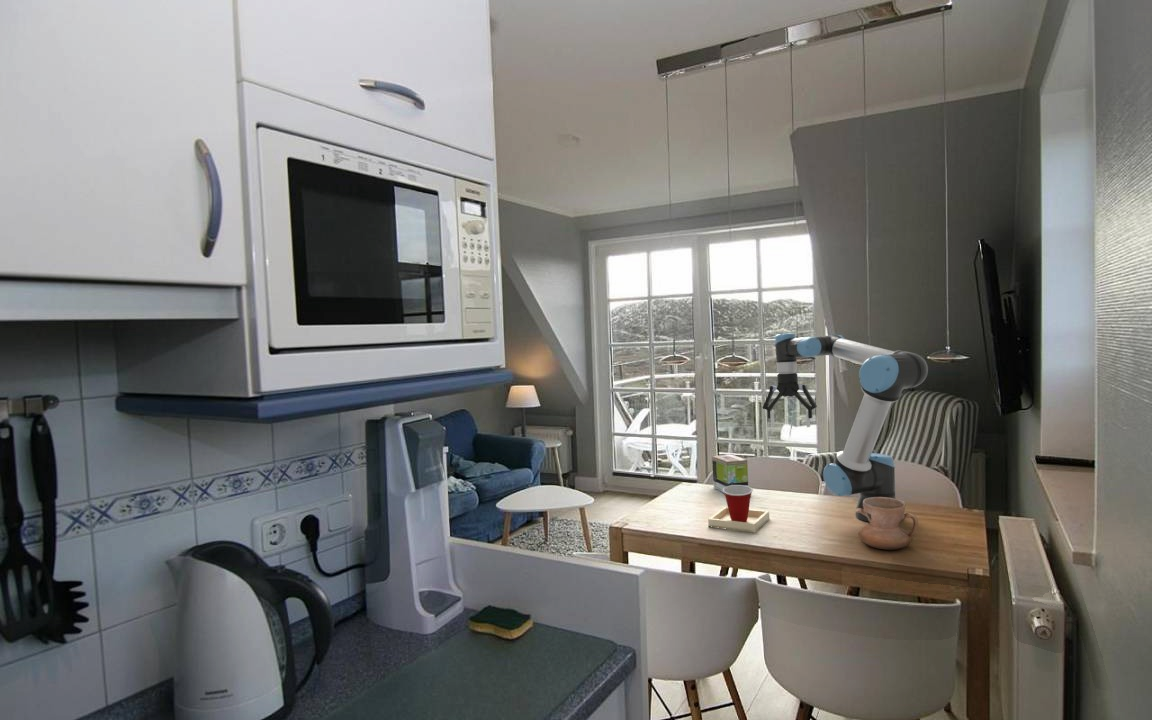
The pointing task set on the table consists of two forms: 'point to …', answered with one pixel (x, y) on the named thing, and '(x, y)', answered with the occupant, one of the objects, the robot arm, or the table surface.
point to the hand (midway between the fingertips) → (790, 426)
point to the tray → (752, 525)
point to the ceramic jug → (885, 523)
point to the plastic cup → (738, 501)
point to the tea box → (729, 471)
